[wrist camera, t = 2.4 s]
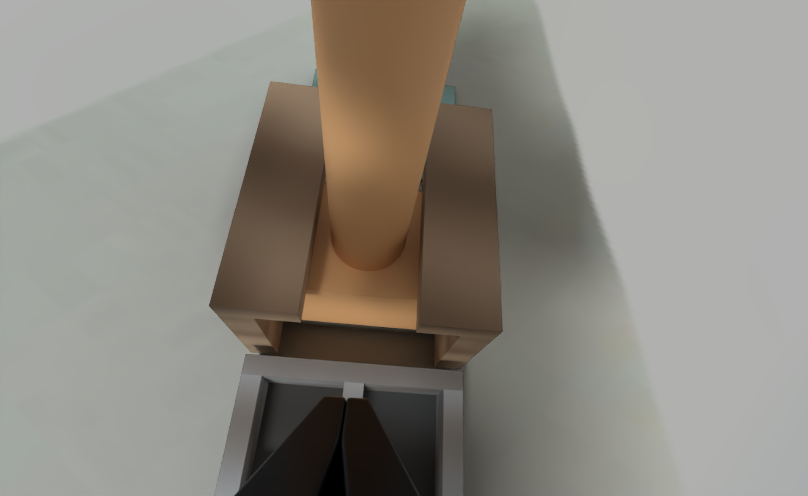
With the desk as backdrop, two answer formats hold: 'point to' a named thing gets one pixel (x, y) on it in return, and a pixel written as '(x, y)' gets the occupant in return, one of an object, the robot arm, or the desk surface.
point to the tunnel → (288, 277)
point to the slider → (375, 152)
